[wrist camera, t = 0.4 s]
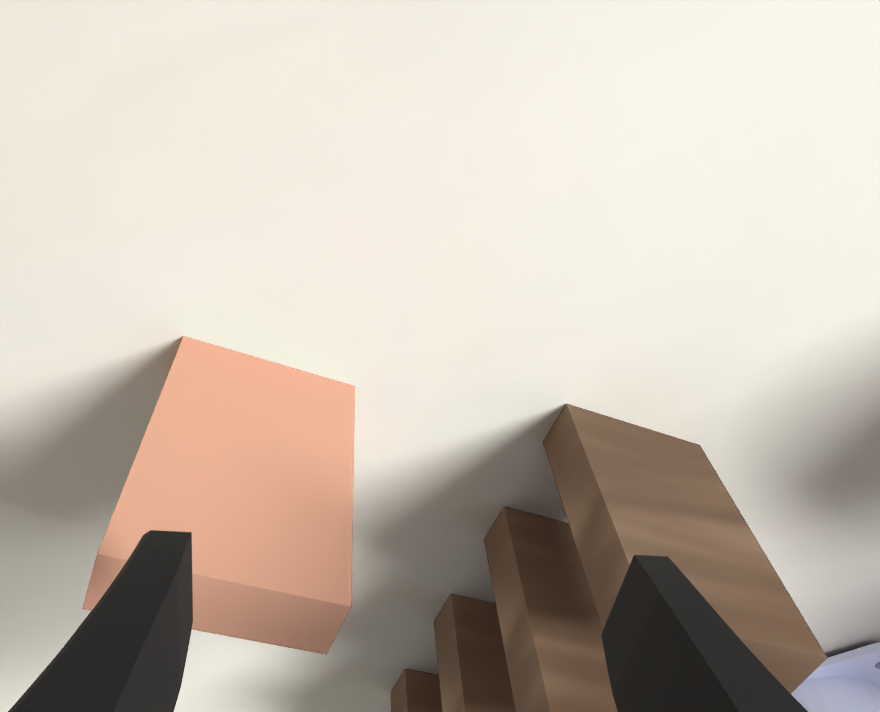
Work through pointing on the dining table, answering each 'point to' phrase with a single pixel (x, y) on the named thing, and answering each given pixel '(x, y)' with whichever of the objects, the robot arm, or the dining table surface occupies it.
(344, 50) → the dining table surface
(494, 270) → the dining table surface
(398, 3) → the dining table surface
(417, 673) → the domino
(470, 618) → the domino
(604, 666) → the domino
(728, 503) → the domino
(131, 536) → the salmon pink rectangular block
